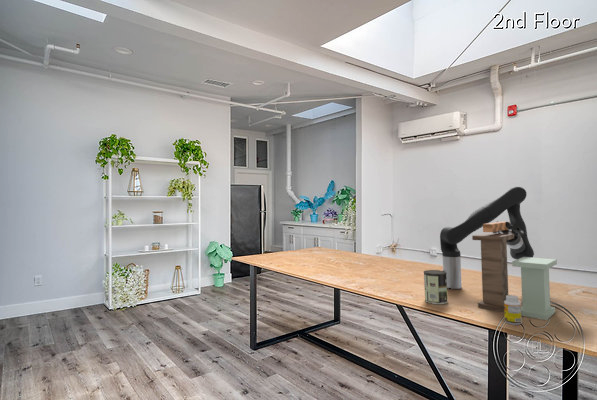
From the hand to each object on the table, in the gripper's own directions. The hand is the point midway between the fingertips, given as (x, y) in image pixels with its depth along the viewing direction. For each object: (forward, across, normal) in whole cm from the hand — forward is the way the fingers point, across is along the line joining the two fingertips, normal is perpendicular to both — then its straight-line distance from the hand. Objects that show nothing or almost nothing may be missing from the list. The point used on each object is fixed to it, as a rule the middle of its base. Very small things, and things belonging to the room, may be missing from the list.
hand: (501, 223), depth 164 cm
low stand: (-8, +16, +37) cm, 41 cm away
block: (+4, 0, +6) cm, 7 cm away
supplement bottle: (+8, +12, +47) cm, 49 cm away
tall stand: (-8, 0, +37) cm, 38 cm away
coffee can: (0, -23, +43) cm, 48 cm away
